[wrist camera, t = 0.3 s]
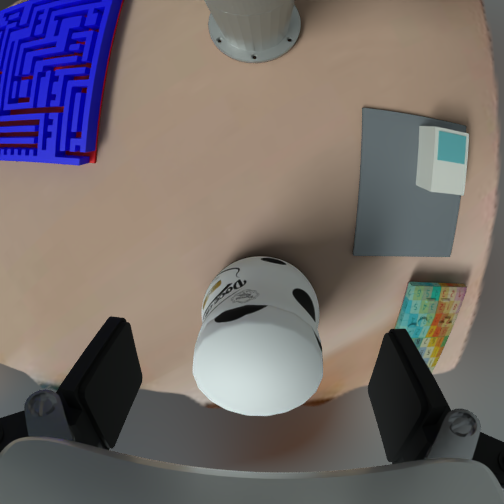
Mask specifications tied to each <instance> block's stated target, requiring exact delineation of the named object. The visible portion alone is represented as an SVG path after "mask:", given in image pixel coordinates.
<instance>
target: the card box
mask: <svg viewBox="0 0 504 504" xmlns="http://www.w3.org/2000/svg"><path fill="white" fill-rule="evenodd" d="M468 143H469V134H468V133H463V132H459V131H455V130H450V129H445V128H440V127H435V126H419V148H418V163H417V176H416V185H417V186H419V187H421V188H424V189H426V190H428V191H430V192H438V193H447V194H455V195H464V189H465V180H466V170H467V159H468Z"/></svg>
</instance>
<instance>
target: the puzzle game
mask: <svg viewBox="0 0 504 504" xmlns="http://www.w3.org/2000/svg"><path fill="white" fill-rule="evenodd" d="M466 288H467V287H466V286H465V285H464V284H457V283H429V282H408V285H407V288H406V292H405V296H404V299H403V302H402V306H401V309H400V312H399V316H398V319H397V322H396V325H395V328H394V329H406V330H407V332H408V333H409V335H410V337H411V338H412V340H413V342H414V344H415V345H416V347H417V349H418V351H419V352H420V354H421V356H422V358H423V360H424V361H425V363H426V364H427V366H428V367H429V369H430V371H431V373H432V371H433V369H434V367H435V365H436V363H437V361H438V359H439V357H440V355H441V352H442V350H443V348H444V346H445V344H446V341H447V339H448V337H449V334H450V332H451V330H452V327H453V325H454V322H455V320H456V317H457V315H458V312H459V309H460V307H461V304H462V301H463V299H464V296H465V293H466Z"/></svg>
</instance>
